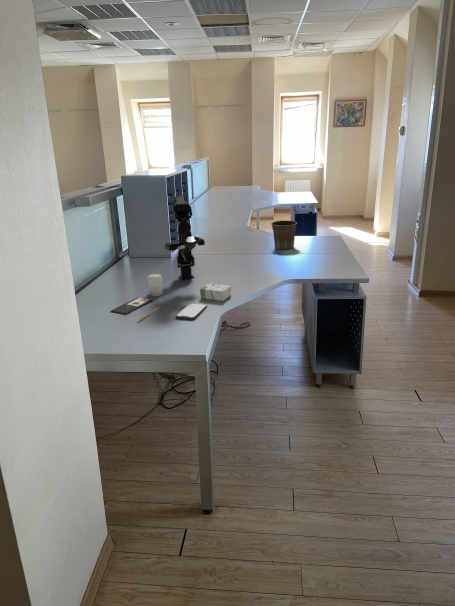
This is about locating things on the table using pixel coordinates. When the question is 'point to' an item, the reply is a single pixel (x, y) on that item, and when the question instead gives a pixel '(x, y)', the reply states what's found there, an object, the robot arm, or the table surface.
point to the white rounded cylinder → (155, 284)
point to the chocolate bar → (131, 306)
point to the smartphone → (191, 311)
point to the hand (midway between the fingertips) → (186, 261)
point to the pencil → (149, 314)
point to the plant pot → (284, 234)
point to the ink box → (215, 292)
